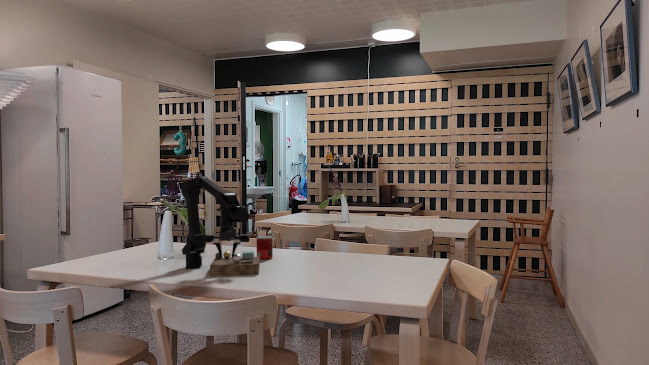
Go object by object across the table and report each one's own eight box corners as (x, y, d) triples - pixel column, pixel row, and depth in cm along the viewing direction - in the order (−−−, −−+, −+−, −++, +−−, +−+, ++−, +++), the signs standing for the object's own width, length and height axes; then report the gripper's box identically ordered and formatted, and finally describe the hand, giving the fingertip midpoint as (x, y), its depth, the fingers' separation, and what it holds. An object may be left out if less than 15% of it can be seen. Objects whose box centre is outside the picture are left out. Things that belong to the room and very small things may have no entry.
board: (210, 275, 193) (210, 265, 193) (215, 267, 211) (215, 257, 211) (258, 274, 195) (258, 264, 195) (259, 266, 213) (259, 256, 213)
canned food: (271, 259, 229) (271, 237, 229) (255, 260, 230) (255, 237, 229) (273, 257, 237) (273, 235, 237) (257, 257, 237) (257, 235, 237)
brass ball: (223, 259, 207) (222, 252, 207) (223, 258, 210) (223, 250, 210) (230, 259, 208) (230, 251, 208) (230, 257, 211) (230, 250, 211)
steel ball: (229, 259, 196) (236, 252, 196) (230, 256, 200) (237, 250, 200) (235, 266, 196) (243, 259, 196) (236, 263, 200) (243, 257, 200)
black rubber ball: (214, 260, 205) (214, 253, 205) (215, 258, 208) (215, 252, 208) (221, 259, 206) (221, 253, 206) (222, 258, 209) (222, 251, 209)
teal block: (242, 258, 206) (242, 253, 206) (242, 256, 211) (242, 251, 211) (253, 258, 207) (253, 252, 207) (254, 256, 212) (254, 251, 212)
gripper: (201, 223, 189) (201, 261, 188) (248, 223, 190) (248, 261, 190) (206, 221, 200) (205, 257, 199) (249, 221, 202) (249, 257, 201)
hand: (226, 258), depth 197 cm, fingers open, 4 cm apart
